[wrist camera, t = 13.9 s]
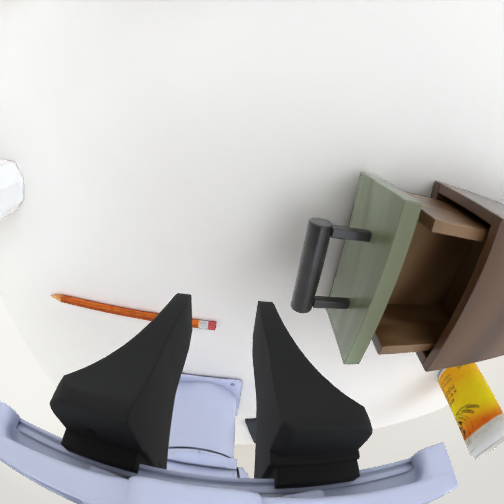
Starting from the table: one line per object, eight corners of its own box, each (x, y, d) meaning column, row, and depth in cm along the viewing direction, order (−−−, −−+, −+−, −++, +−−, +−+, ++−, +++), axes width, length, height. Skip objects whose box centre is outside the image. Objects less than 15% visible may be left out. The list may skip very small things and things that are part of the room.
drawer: (279, 305, 23) (287, 364, 17) (305, 161, 17) (330, 185, 12) (437, 309, 23) (466, 352, 18) (479, 202, 18) (526, 233, 13)
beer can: (434, 369, 30) (474, 457, 16) (469, 345, 28) (516, 427, 15) (437, 385, 32) (471, 463, 19) (469, 364, 30) (508, 438, 17)
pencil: (215, 326, 25) (215, 331, 24) (52, 296, 24) (49, 300, 23) (216, 320, 25) (215, 325, 24) (50, 290, 24) (47, 293, 23)
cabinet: (391, 309, 24) (425, 372, 17) (434, 180, 18) (502, 218, 11) (476, 308, 25) (511, 353, 18) (517, 210, 19) (567, 244, 12)
